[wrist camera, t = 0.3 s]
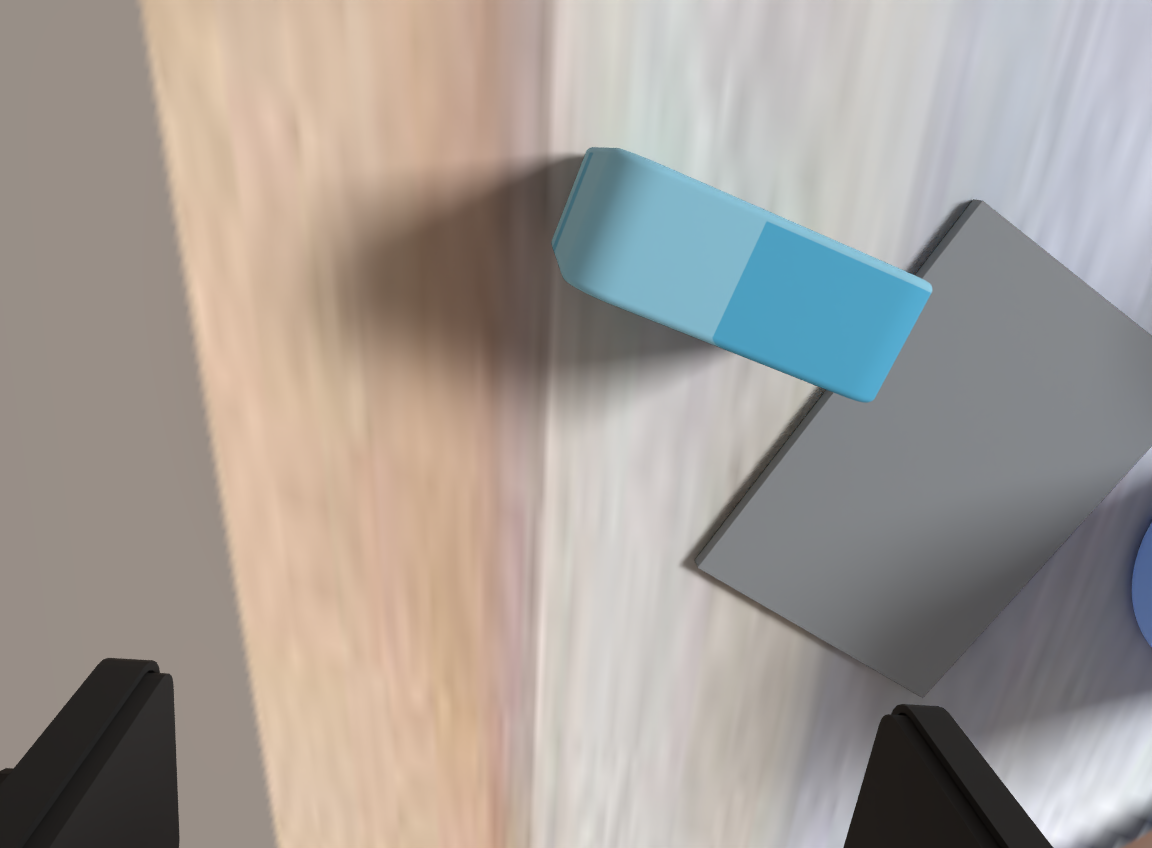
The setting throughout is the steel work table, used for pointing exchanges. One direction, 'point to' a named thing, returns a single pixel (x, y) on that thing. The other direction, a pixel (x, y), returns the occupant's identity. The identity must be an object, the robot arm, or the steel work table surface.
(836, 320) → the data package
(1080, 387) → the mat
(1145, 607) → the water jug
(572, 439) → the steel work table surface
